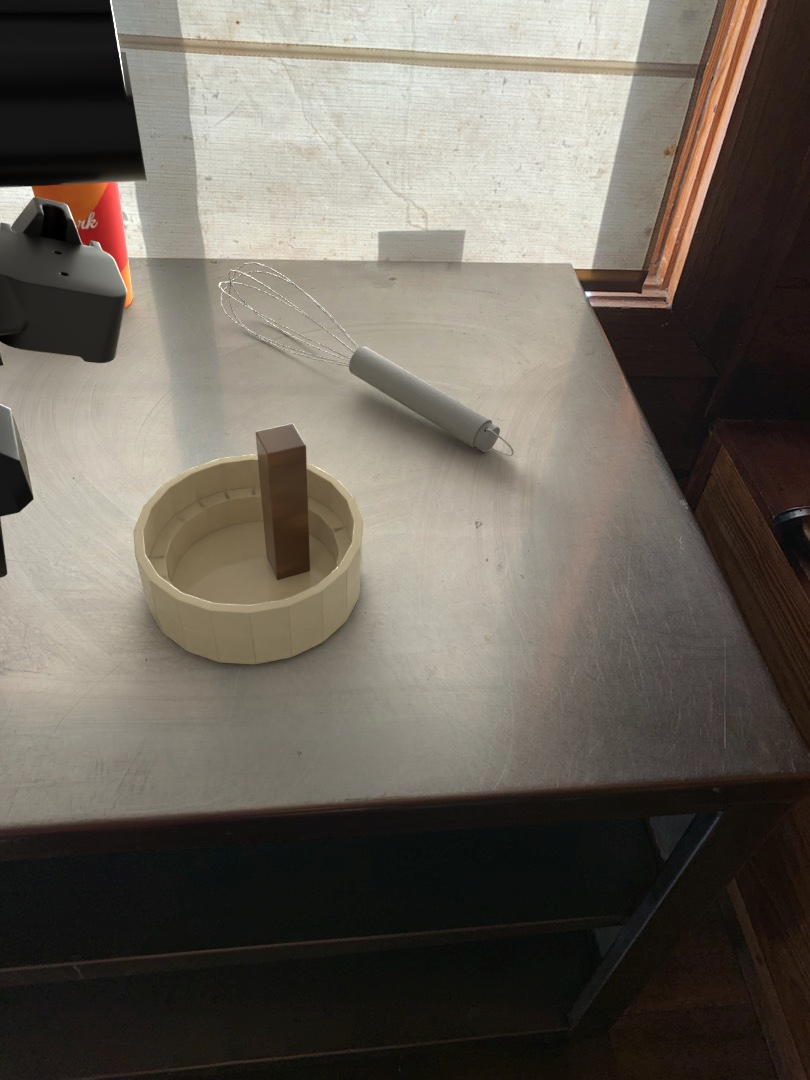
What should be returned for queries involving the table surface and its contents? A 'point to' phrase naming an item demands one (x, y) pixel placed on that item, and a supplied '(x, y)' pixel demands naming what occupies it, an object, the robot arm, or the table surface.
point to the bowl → (245, 564)
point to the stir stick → (284, 499)
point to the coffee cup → (95, 219)
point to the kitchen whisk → (391, 379)
